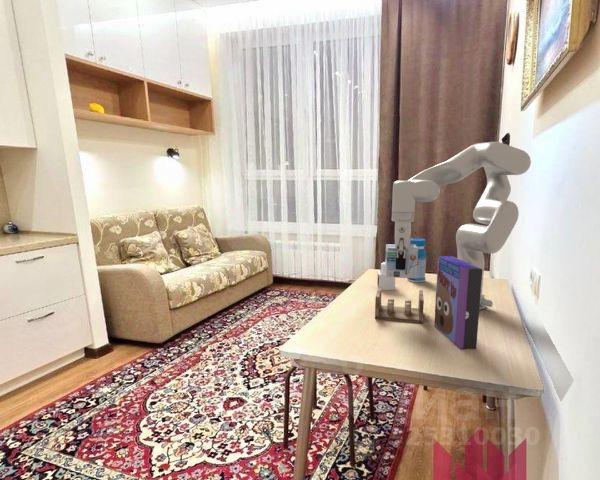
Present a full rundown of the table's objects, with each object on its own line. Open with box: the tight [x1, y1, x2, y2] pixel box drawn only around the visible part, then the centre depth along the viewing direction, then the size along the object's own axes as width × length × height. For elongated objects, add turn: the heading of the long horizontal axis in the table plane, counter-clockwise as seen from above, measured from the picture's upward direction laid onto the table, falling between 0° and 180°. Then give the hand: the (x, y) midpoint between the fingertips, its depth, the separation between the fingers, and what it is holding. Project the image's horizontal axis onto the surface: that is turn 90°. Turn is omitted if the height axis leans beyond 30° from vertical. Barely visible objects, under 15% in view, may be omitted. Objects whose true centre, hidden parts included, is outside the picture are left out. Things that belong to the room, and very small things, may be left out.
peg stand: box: [374, 286, 425, 324], centre depth 136 cm, size 12×16×8 cm
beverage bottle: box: [406, 237, 427, 283], centre depth 180 cm, size 8×8×20 cm
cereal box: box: [433, 255, 482, 350], centre depth 116 cm, size 17×5×24 cm, turn 5°
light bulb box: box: [384, 243, 418, 279], centre depth 133 cm, size 11×7×11 cm, turn 83°
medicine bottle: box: [377, 260, 396, 291], centre depth 169 cm, size 7×7×12 cm
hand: (400, 266), depth 134 cm, fingers closed on light bulb box, 7 cm apart
